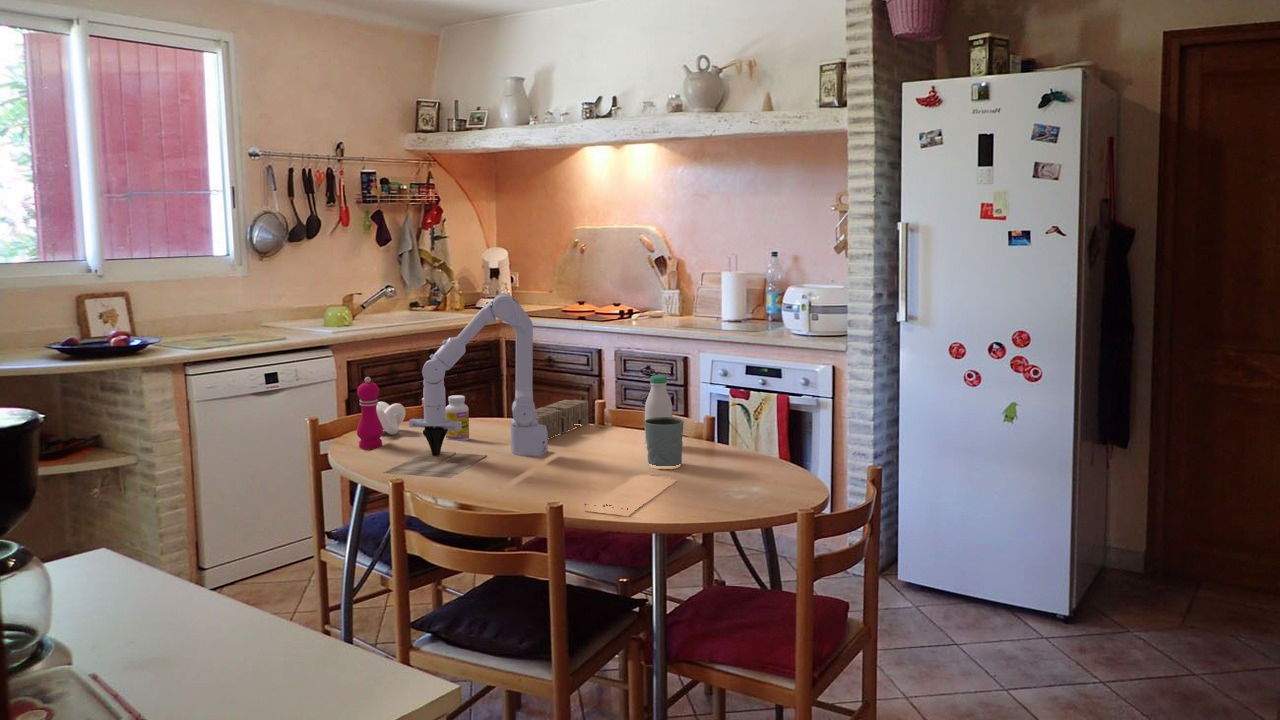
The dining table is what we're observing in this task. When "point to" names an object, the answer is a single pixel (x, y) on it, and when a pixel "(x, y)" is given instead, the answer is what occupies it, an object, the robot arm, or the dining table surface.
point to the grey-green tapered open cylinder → (664, 440)
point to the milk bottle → (658, 399)
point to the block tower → (563, 416)
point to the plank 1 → (431, 458)
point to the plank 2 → (465, 458)
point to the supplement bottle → (458, 418)
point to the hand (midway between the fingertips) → (436, 454)
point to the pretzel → (390, 416)
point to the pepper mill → (369, 416)
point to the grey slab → (428, 469)
